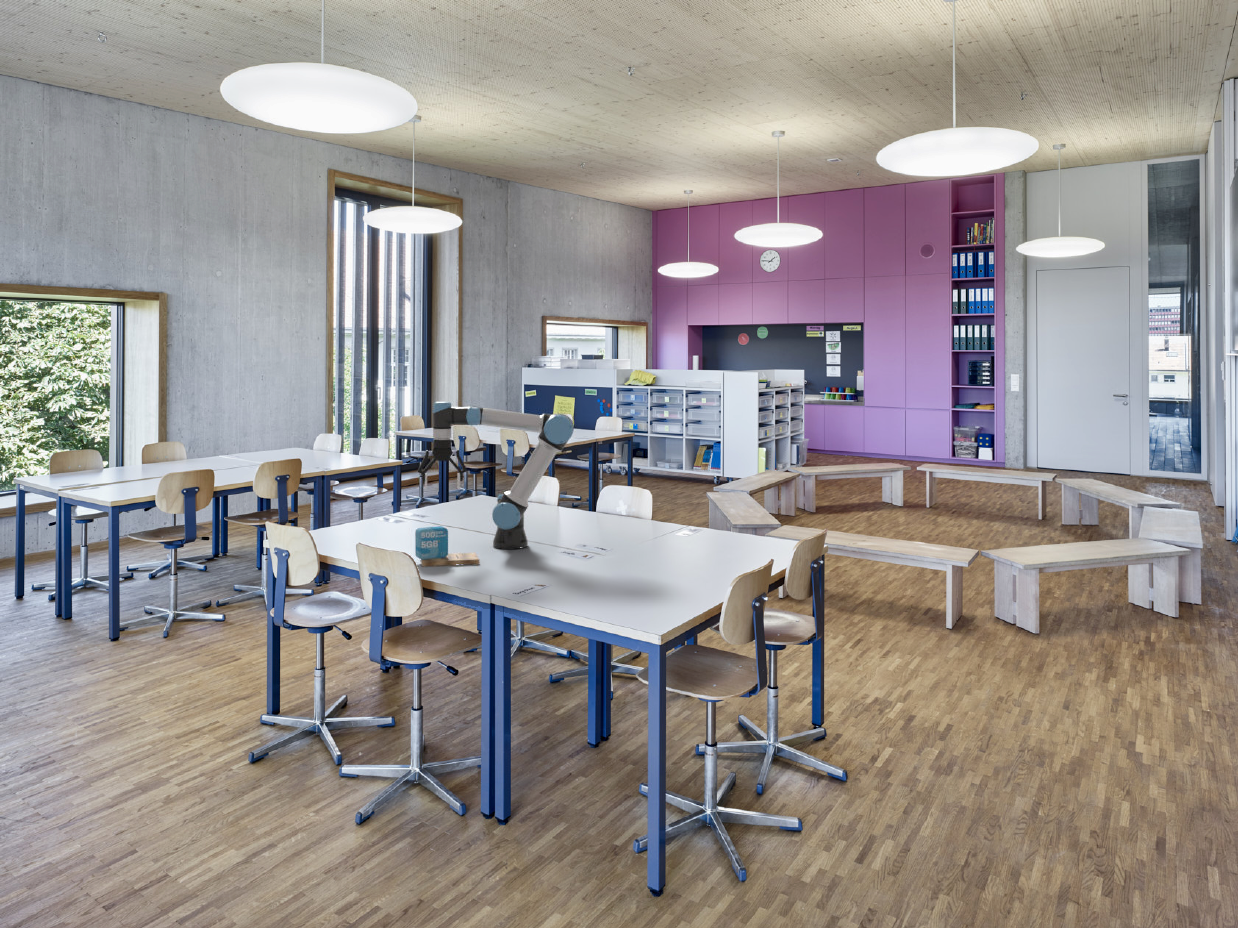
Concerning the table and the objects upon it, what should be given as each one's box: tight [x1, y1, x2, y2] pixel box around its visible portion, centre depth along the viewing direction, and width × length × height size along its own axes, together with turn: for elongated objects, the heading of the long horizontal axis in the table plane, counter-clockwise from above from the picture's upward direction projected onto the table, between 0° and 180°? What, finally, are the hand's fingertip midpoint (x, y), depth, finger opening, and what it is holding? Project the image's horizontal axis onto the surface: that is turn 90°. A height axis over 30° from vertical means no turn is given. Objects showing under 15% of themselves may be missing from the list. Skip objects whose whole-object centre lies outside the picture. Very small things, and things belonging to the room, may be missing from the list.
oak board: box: [420, 552, 480, 567], centre depth 333 cm, size 22×13×2 cm, turn 107°
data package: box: [414, 525, 449, 561], centre depth 330 cm, size 12×4×12 cm, turn 123°
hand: (442, 489), depth 351 cm, fingers open, 13 cm apart
